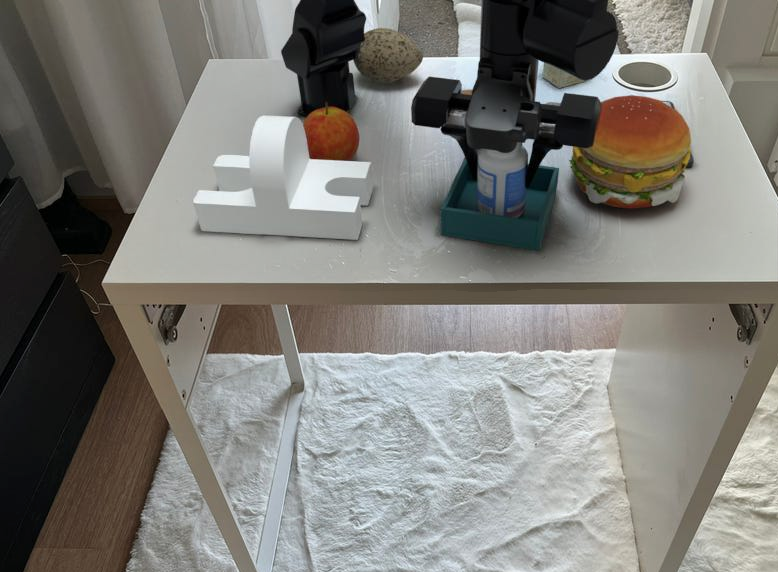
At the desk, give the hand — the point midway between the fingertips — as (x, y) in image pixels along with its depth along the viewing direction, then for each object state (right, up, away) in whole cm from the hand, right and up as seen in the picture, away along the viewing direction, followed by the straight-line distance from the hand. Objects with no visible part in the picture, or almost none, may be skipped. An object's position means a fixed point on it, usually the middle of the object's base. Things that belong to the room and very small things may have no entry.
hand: (501, 182), depth 84 cm
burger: (+15, +1, +6) cm, 16 cm away
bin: (0, -3, +3) cm, 4 cm away
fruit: (-20, +5, +11) cm, 23 cm away
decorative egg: (-19, +24, +24) cm, 38 cm away
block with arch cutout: (-24, -2, +4) cm, 25 cm away
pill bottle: (0, -3, +3) cm, 4 cm away
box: (+11, +20, +25) cm, 34 cm away
